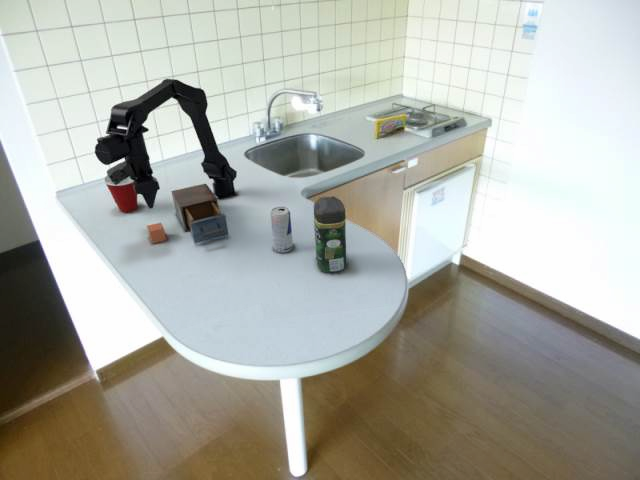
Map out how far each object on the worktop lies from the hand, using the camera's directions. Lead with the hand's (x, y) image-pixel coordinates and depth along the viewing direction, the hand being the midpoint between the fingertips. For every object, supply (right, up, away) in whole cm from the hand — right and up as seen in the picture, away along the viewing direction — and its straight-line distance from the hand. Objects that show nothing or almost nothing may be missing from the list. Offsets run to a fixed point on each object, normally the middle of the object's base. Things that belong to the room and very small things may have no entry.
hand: (149, 203), depth 134 cm
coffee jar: (+52, -17, -9) cm, 56 cm away
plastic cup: (-16, 0, +25) cm, 29 cm away
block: (+1, -10, +6) cm, 12 cm away
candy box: (+81, +37, +79) cm, 120 cm away
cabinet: (+10, -3, +17) cm, 20 cm away
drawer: (+16, -9, +6) cm, 19 cm away
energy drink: (+39, -13, -1) cm, 41 cm away
